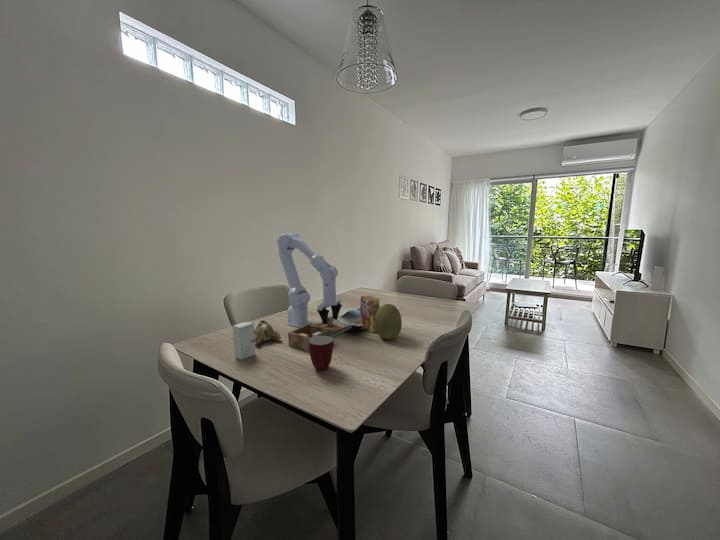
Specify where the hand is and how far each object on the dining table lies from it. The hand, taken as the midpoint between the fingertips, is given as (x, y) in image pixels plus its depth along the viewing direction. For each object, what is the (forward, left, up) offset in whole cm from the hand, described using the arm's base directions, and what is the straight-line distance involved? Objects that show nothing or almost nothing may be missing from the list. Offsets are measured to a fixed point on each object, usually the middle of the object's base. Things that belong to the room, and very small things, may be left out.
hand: (330, 321), depth 135 cm
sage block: (+6, -16, -3) cm, 17 cm away
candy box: (+16, +9, -4) cm, 19 cm away
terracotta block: (+2, -20, -3) cm, 21 cm away
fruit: (+28, +4, -4) cm, 29 cm away
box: (+4, -18, -3) cm, 19 cm away
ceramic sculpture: (-15, -25, -4) cm, 30 cm away
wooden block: (0, 0, -3) cm, 3 cm away
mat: (0, 0, -3) cm, 3 cm away
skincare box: (-9, -39, -4) cm, 40 cm away
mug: (+22, -32, -4) cm, 39 cm away
